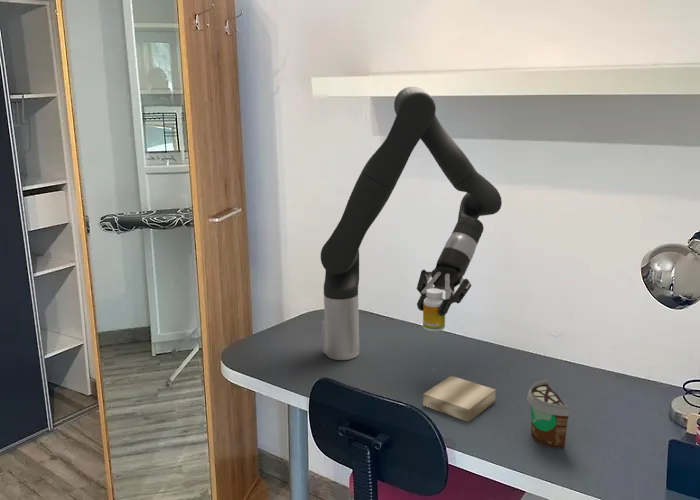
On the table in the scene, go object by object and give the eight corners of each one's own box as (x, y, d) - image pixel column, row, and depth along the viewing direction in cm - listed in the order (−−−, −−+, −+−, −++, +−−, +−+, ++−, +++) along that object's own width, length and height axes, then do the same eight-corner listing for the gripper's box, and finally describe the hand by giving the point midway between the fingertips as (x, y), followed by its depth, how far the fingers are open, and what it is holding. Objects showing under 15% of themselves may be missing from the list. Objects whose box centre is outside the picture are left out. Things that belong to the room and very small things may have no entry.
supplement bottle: (444, 332, 163) (444, 294, 161) (422, 331, 164) (422, 293, 162) (445, 324, 168) (446, 287, 166) (424, 323, 169) (424, 286, 167)
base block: (423, 405, 154) (423, 393, 153) (450, 387, 163) (451, 375, 162) (468, 421, 146) (469, 409, 146) (495, 401, 155) (495, 389, 154)
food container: (517, 422, 146) (519, 380, 143) (544, 421, 146) (547, 379, 143) (537, 453, 134) (540, 408, 131) (567, 451, 134) (570, 406, 132)
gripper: (427, 242, 171) (399, 298, 165) (477, 251, 162) (449, 311, 156) (438, 257, 176) (411, 312, 171) (487, 267, 167) (460, 325, 162)
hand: (430, 311), depth 164 cm, fingers closed on supplement bottle, 5 cm apart
